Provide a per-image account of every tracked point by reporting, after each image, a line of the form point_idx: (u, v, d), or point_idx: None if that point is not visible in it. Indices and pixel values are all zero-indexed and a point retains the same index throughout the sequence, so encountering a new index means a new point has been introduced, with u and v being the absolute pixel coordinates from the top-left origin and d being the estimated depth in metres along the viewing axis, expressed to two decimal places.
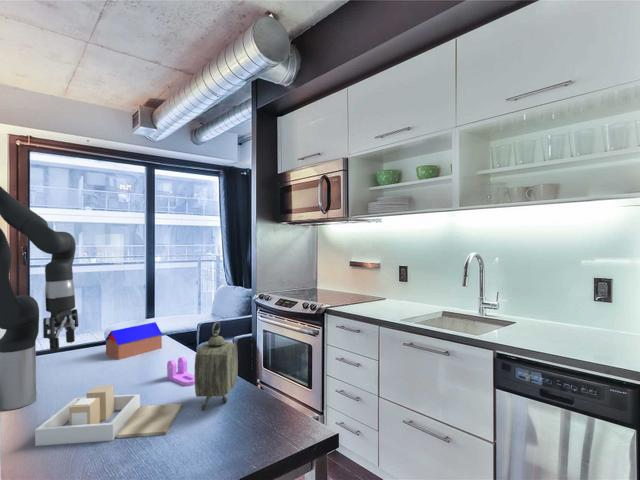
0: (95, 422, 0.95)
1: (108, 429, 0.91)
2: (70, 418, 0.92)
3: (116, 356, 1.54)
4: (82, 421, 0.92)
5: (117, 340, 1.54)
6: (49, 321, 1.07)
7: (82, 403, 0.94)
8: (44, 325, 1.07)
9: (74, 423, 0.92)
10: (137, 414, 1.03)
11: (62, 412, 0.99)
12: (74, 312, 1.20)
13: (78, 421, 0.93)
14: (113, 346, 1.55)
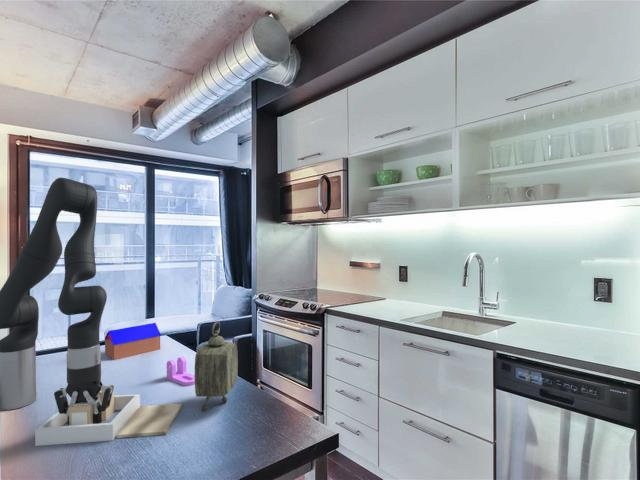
0: None
1: (108, 429, 0.91)
2: (70, 418, 0.92)
3: (112, 356, 1.54)
4: (82, 421, 0.92)
5: (113, 340, 1.54)
6: (112, 390, 0.96)
7: (82, 403, 0.94)
8: (108, 396, 0.95)
9: (74, 423, 0.92)
10: (137, 414, 1.03)
11: None
12: None
13: (78, 420, 0.93)
14: (110, 346, 1.55)
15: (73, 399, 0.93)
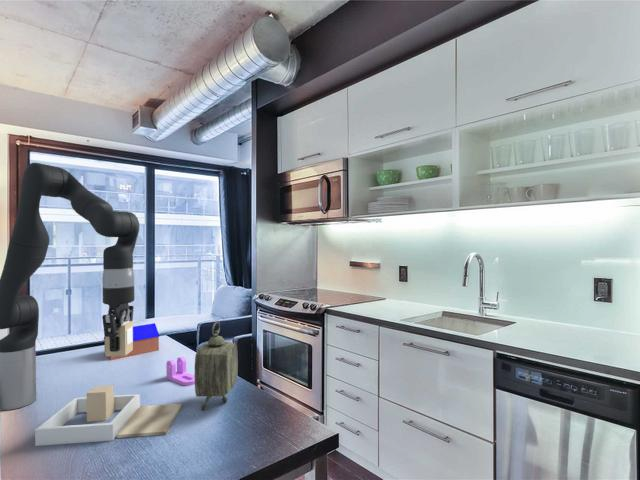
0: None
1: (108, 429, 0.91)
2: (125, 335, 0.96)
3: (109, 356, 1.54)
4: (131, 336, 0.99)
5: None
6: None
7: (123, 322, 0.98)
8: None
9: (128, 339, 0.97)
10: (137, 414, 1.03)
11: (62, 412, 0.99)
12: None
13: (128, 336, 0.98)
14: None
15: (122, 318, 0.96)
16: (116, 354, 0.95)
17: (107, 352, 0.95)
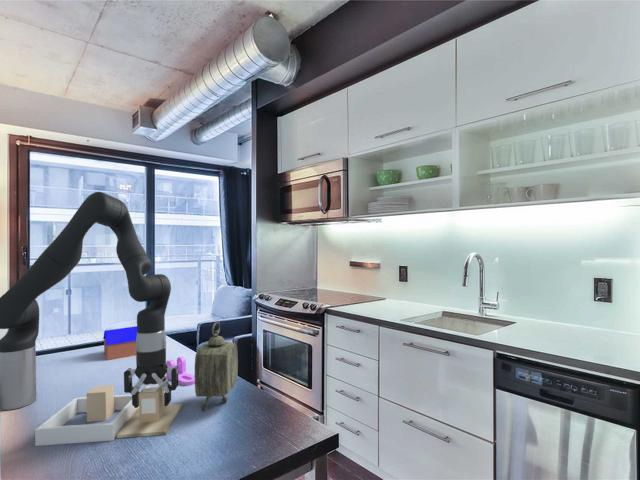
0: (161, 408, 1.01)
1: (108, 429, 0.91)
2: (140, 404, 0.98)
3: (106, 356, 1.54)
4: (151, 406, 0.98)
5: (107, 340, 1.54)
6: (177, 370, 1.02)
7: (150, 390, 1.00)
8: (176, 376, 1.01)
9: (143, 408, 0.98)
10: (137, 414, 1.03)
11: (62, 412, 0.99)
12: None
13: (147, 406, 0.98)
14: (106, 346, 1.56)
15: (141, 380, 0.99)
16: None
17: None
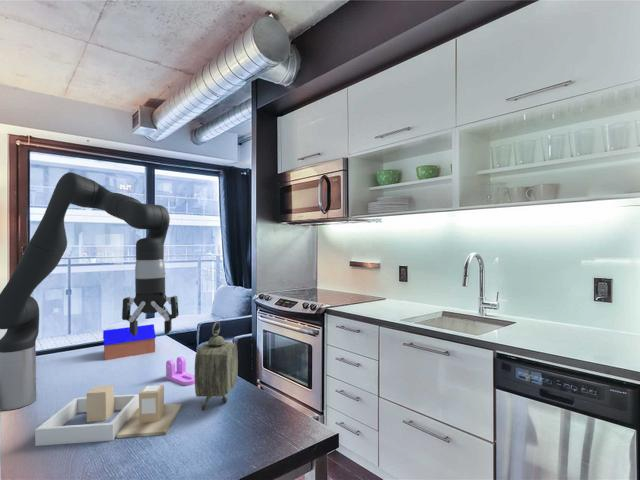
0: (161, 408, 1.01)
1: (108, 429, 0.91)
2: (140, 404, 0.98)
3: None
4: (151, 406, 0.98)
5: (105, 340, 1.54)
6: (176, 299, 1.02)
7: (150, 390, 1.00)
8: (175, 304, 1.01)
9: (143, 408, 0.98)
10: (137, 414, 1.03)
11: (62, 412, 0.99)
12: None
13: (147, 406, 0.98)
14: (104, 346, 1.56)
15: (139, 308, 0.99)
16: None
17: None
